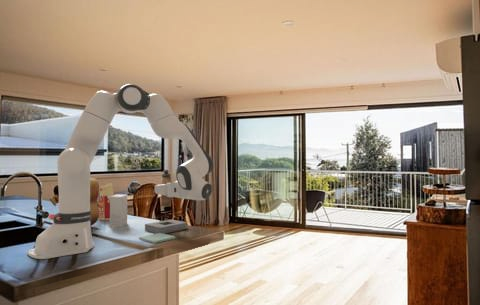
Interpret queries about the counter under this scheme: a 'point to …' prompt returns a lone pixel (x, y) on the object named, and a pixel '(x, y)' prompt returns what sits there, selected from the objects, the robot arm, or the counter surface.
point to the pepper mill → (164, 180)
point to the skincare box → (118, 210)
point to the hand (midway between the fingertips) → (165, 187)
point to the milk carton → (105, 201)
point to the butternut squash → (94, 200)
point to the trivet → (157, 238)
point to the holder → (165, 226)
